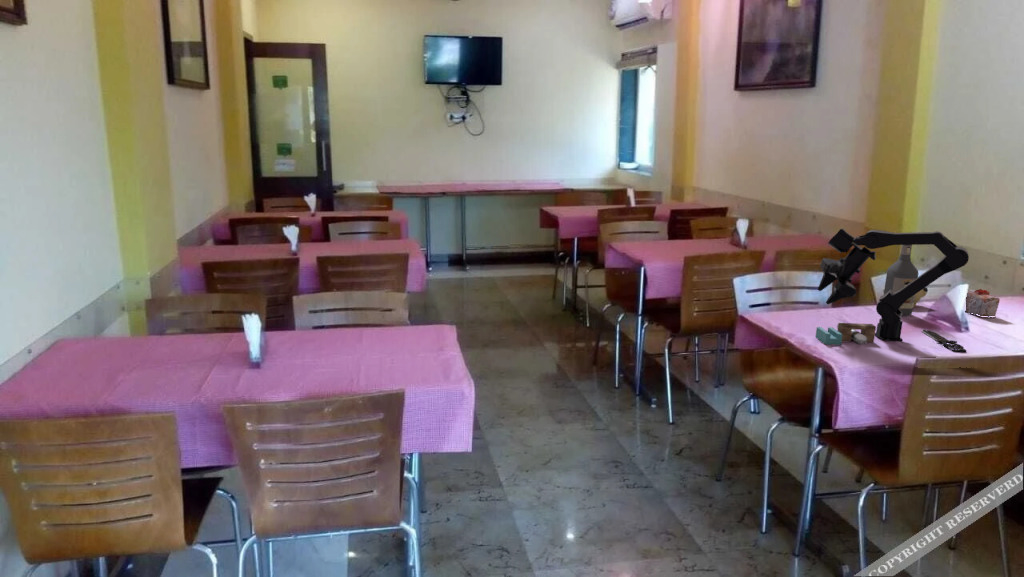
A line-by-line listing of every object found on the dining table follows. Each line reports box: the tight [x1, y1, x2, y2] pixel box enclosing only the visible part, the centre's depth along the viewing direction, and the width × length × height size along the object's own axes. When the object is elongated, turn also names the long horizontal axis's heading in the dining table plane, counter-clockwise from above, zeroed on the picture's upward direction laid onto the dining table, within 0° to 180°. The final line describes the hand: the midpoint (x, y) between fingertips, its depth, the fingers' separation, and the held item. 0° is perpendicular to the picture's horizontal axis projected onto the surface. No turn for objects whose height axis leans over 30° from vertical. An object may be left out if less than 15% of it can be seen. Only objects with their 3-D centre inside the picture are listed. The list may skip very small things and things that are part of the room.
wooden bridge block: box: [837, 322, 877, 343], centre depth 252 cm, size 11×3×5 cm, turn 90°
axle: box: [836, 321, 868, 345], centre depth 257 cm, size 3×16×3 cm, turn 1°
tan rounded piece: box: [913, 286, 929, 308], centre depth 303 cm, size 10×12×11 cm
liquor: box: [883, 245, 919, 317], centre depth 288 cm, size 9×9×30 cm
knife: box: [921, 329, 967, 354], centre depth 256 cm, size 25×6×1 cm, turn 171°
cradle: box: [815, 326, 843, 346], centre depth 251 cm, size 5×8×4 cm, turn 0°
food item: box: [966, 288, 1001, 317], centre depth 293 cm, size 14×8×10 cm, turn 9°
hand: (822, 296), depth 265 cm, fingers open, 9 cm apart
